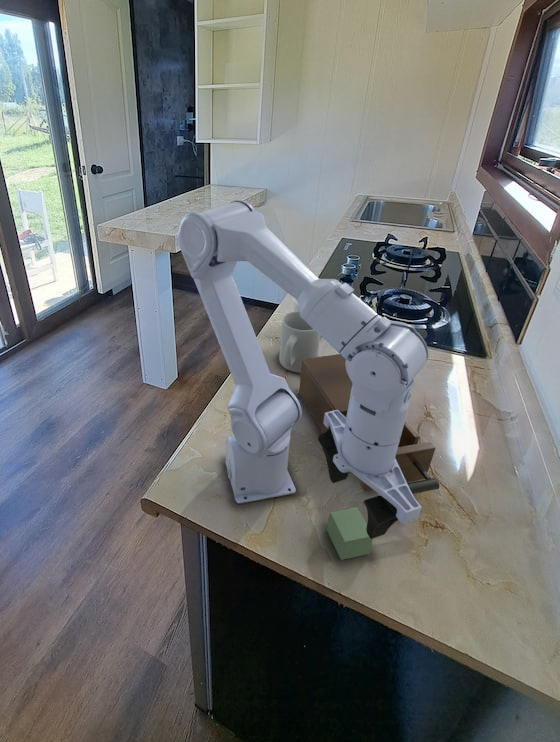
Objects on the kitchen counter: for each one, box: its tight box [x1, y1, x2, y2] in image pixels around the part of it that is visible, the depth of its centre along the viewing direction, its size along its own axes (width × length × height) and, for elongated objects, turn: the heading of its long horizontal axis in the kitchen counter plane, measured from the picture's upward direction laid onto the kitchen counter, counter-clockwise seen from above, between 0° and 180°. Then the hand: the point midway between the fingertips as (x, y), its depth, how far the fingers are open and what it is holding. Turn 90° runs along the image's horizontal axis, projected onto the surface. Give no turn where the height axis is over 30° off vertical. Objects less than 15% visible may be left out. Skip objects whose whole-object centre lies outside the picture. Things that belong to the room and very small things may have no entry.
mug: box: [278, 311, 321, 374], centre depth 85 cm, size 12×8×11 cm
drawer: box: [343, 414, 440, 495], centre depth 61 cm, size 18×10×7 cm, turn 10°
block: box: [326, 506, 374, 561], centre depth 51 cm, size 4×4×4 cm
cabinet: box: [298, 353, 353, 434], centre depth 71 cm, size 15×12×9 cm
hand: (355, 504), depth 49 cm, fingers open, 7 cm apart
